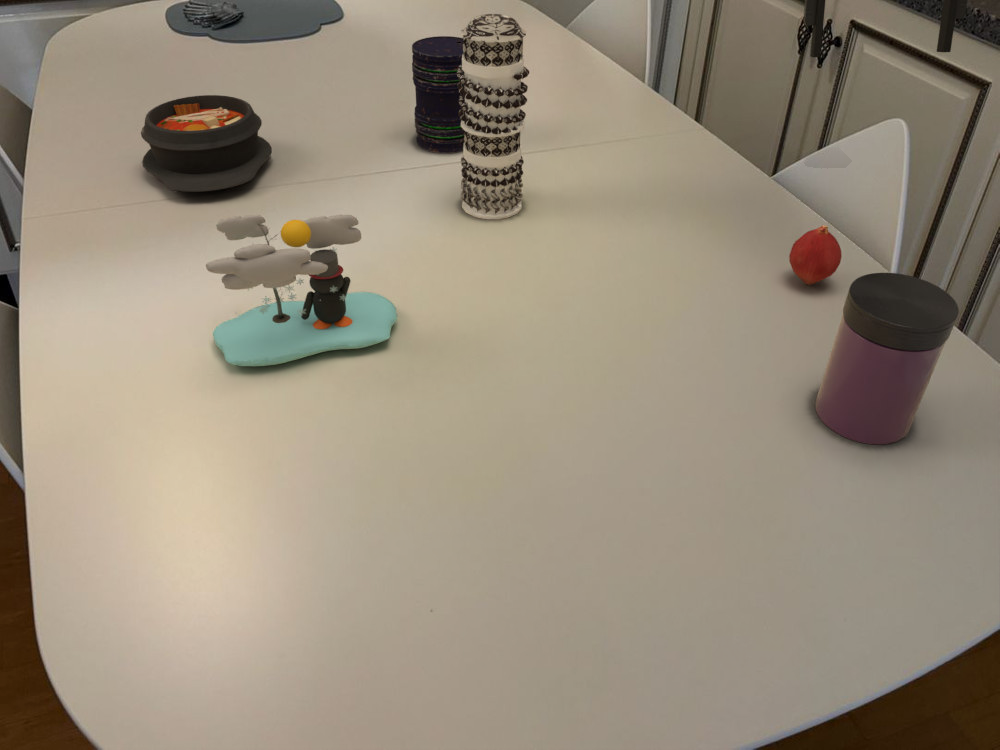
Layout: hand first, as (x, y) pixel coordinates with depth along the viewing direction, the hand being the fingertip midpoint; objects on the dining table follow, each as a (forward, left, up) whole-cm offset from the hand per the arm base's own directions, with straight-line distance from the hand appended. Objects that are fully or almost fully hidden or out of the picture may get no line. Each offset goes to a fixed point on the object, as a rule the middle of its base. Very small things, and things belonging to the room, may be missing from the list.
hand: (878, 54), depth 97 cm
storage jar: (+59, -16, -25) cm, 66 cm away
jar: (-4, +34, -25) cm, 42 cm away
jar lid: (-4, +34, -12) cm, 36 cm away
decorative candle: (+45, +3, -25) cm, 51 cm away
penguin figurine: (+54, +40, -25) cm, 72 cm away
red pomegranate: (+2, +10, -25) cm, 27 cm away
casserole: (+89, +5, -25) cm, 92 cm away
